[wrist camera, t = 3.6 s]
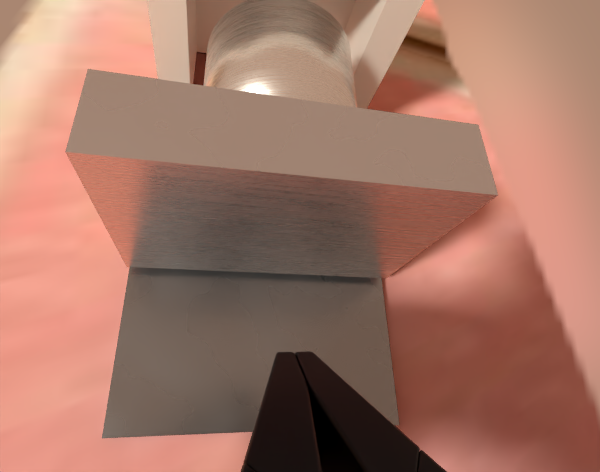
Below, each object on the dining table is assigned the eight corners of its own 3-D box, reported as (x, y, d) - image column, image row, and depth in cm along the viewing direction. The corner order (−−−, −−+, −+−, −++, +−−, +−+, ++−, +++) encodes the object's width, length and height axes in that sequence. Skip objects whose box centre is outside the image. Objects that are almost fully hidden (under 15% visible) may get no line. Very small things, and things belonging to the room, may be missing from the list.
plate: (395, 424, 16) (399, 425, 15) (104, 437, 13) (101, 438, 13) (359, 125, 22) (362, 121, 22) (158, 99, 20) (158, 93, 19)
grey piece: (386, 278, 17) (497, 195, 11) (126, 266, 15) (65, 151, 8) (368, 136, 21) (445, 6, 14) (152, 109, 18) (123, -63, 12)
